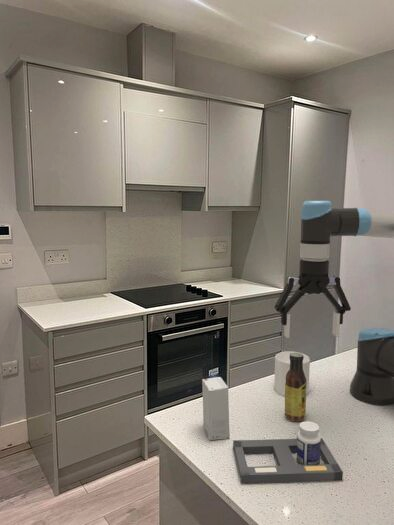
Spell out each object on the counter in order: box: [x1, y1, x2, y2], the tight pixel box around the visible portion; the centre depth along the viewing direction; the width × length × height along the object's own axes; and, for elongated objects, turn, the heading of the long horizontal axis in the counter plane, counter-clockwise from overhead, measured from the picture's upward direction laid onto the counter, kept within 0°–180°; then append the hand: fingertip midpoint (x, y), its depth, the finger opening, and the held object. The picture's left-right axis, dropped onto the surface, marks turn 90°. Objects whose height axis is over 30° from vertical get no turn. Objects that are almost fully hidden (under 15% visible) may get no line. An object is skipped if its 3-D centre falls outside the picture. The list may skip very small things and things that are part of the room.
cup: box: [273, 351, 311, 397], centre depth 141 cm, size 12×12×12 cm
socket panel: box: [232, 437, 344, 485], centre depth 101 cm, size 24×14×2 cm, turn 93°
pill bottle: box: [296, 420, 322, 465], centre depth 101 cm, size 6×6×10 cm
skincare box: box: [201, 376, 230, 441], centre depth 115 cm, size 8×6×15 cm
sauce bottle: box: [284, 351, 307, 422], centre depth 122 cm, size 7×6×20 cm
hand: (311, 336), depth 111 cm, fingers open, 13 cm apart
